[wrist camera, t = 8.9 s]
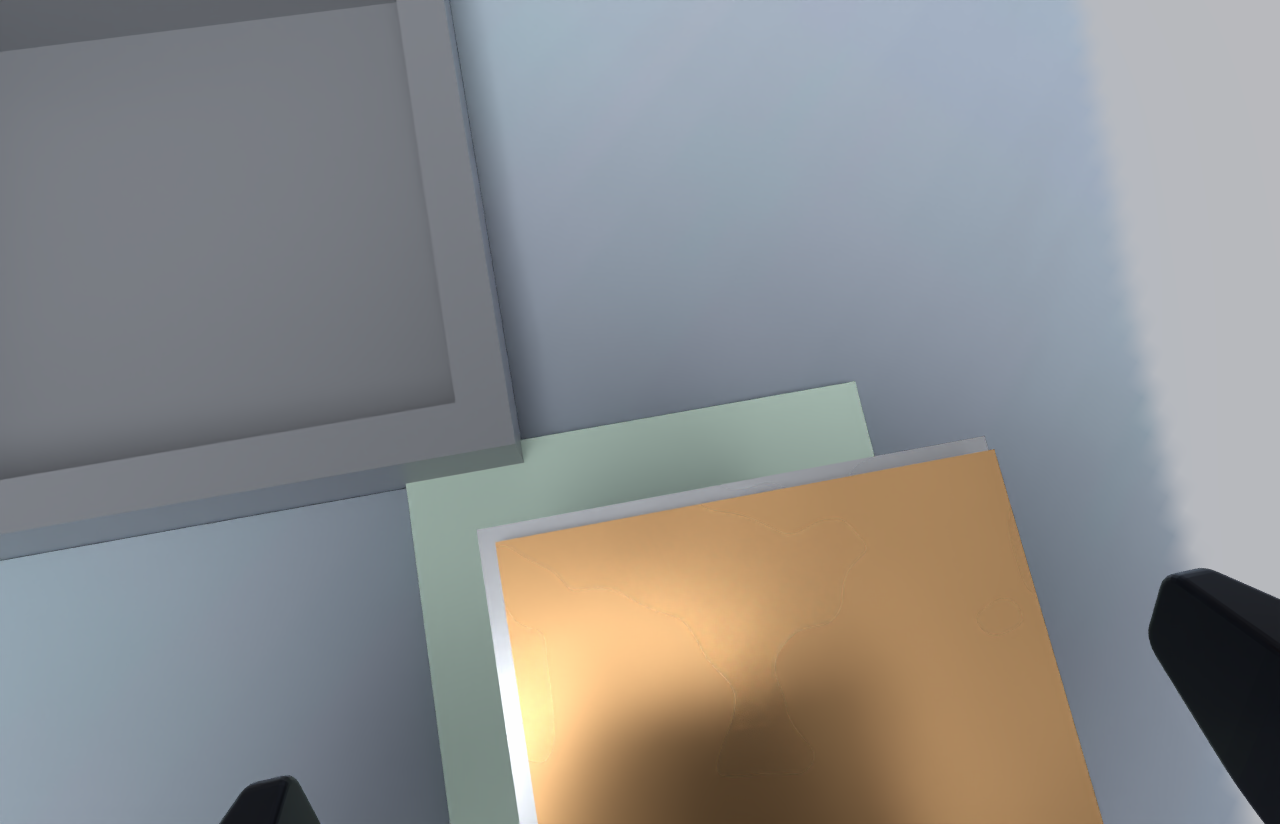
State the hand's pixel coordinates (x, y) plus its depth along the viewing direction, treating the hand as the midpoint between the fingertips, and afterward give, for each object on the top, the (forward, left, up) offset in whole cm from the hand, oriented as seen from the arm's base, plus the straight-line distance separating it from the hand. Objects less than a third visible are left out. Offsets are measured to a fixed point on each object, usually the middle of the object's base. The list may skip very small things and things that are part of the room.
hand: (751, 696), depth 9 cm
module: (0, 0, -9) cm, 9 cm away
